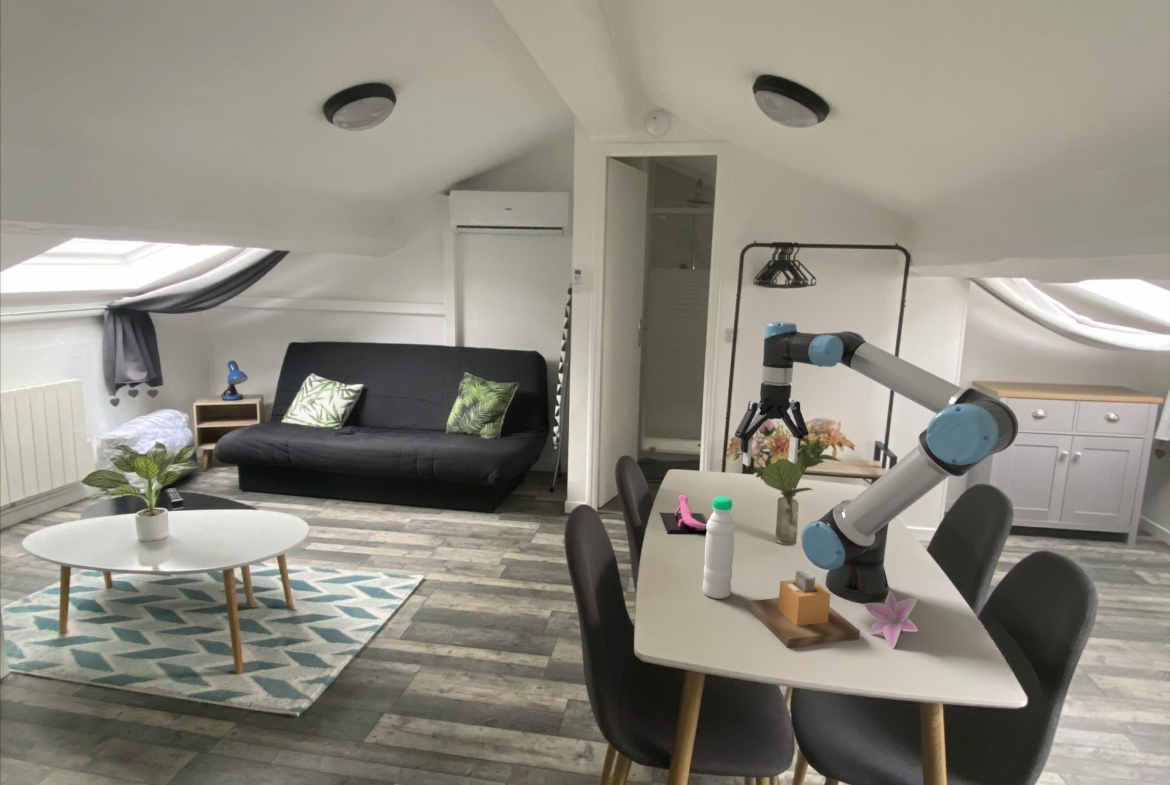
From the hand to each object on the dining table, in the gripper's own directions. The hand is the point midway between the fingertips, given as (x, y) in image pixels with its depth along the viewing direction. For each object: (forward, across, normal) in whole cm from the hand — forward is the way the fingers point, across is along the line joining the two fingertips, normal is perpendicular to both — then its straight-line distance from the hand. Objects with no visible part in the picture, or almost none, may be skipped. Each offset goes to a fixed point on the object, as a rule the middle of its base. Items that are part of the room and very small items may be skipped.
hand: (769, 463), depth 180 cm
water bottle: (+31, +16, +7) cm, 36 cm away
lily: (+31, -12, +36) cm, 49 cm away
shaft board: (+31, +4, +25) cm, 40 cm away
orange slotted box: (+29, +4, +26) cm, 39 cm away
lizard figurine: (+32, +3, -41) cm, 52 cm away
